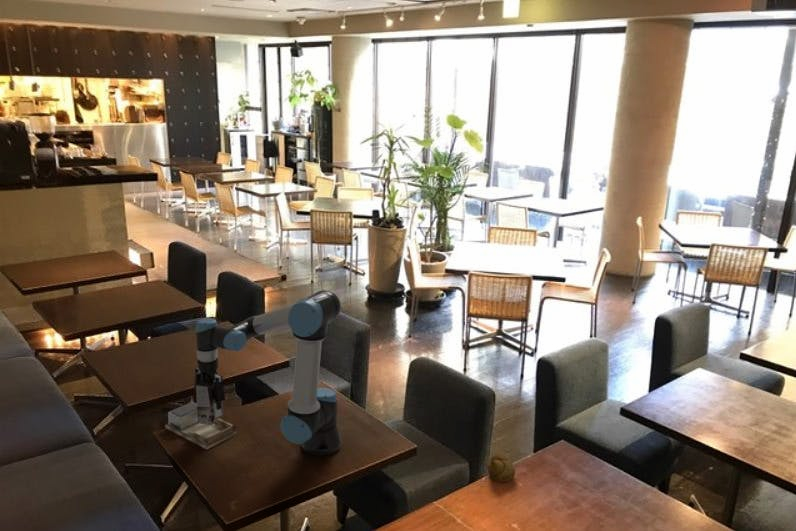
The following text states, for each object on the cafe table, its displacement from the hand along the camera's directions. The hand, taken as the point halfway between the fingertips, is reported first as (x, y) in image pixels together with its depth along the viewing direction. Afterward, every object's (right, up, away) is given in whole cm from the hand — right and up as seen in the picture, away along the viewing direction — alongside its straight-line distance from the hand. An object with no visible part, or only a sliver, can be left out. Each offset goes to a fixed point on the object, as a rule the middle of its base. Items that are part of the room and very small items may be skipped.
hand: (210, 412), depth 237 cm
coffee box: (0, -3, +1) cm, 3 cm away
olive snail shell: (+110, -19, -16) cm, 113 cm away
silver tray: (-6, -9, +6) cm, 13 cm away
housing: (-13, -6, +11) cm, 18 cm away
